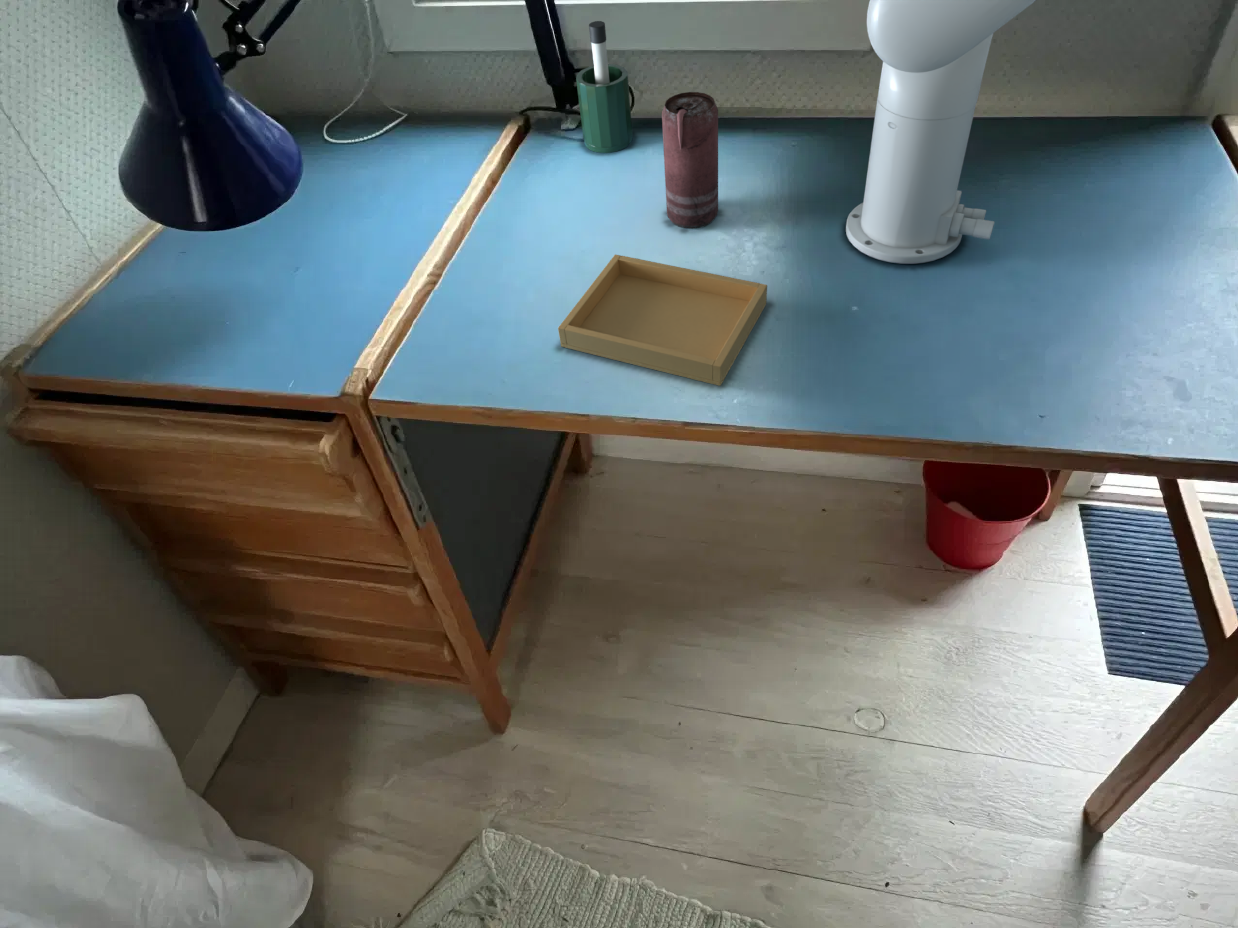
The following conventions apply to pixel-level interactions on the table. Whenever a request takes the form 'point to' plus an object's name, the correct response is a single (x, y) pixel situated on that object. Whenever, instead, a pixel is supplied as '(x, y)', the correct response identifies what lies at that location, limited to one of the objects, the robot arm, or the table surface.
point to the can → (691, 159)
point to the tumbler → (605, 110)
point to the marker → (599, 51)
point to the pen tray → (665, 318)
